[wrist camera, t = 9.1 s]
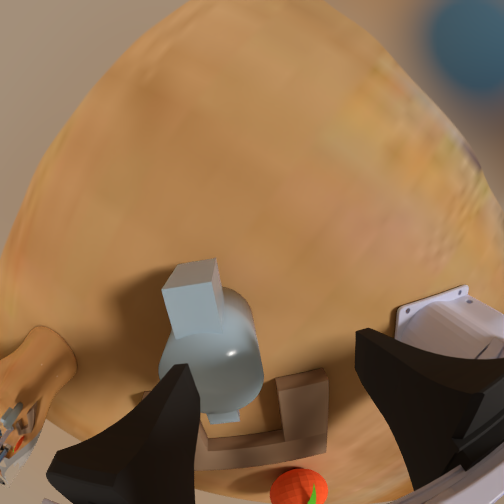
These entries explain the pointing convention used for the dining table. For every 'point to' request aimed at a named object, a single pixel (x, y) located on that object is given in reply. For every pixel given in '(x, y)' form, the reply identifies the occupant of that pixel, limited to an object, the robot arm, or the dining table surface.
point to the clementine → (299, 488)
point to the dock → (280, 441)
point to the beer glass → (29, 394)
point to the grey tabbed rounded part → (212, 340)
